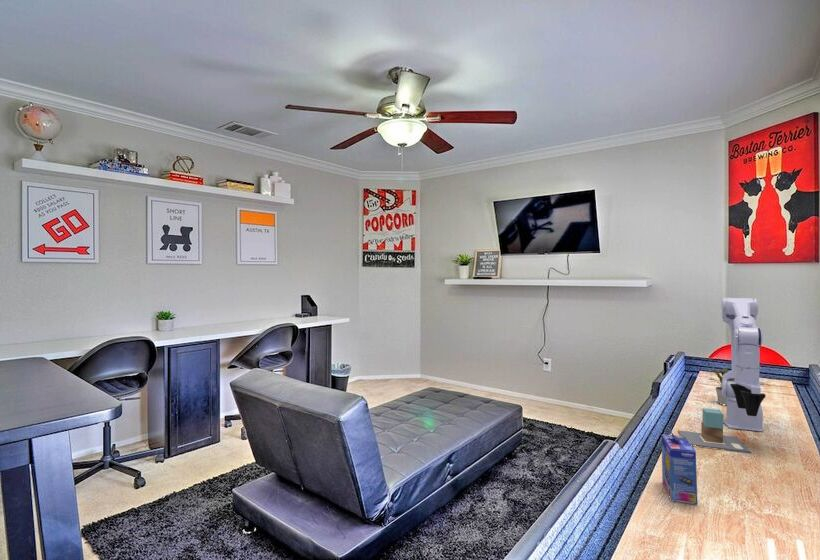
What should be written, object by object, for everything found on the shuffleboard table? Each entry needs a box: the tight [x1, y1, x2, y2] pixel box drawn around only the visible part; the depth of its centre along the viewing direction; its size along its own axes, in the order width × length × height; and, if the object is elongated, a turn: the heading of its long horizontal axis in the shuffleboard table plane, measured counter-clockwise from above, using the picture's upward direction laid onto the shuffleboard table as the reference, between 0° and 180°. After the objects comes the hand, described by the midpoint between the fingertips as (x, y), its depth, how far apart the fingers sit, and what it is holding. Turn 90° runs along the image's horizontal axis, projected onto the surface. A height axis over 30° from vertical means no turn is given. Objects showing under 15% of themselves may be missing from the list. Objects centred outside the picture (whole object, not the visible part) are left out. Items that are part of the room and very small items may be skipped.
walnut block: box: [700, 421, 724, 443], centre depth 133 cm, size 4×4×4 cm
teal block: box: [701, 407, 725, 430], centre depth 133 cm, size 4×4×4 cm
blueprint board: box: [677, 429, 752, 454], centre depth 133 cm, size 16×12×1 cm
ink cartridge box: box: [660, 428, 699, 505], centre depth 102 cm, size 10×6×14 cm, turn 161°
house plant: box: [703, 364, 732, 405], centre depth 172 cm, size 14×14×16 cm
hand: (746, 411), depth 130 cm, fingers open, 7 cm apart
